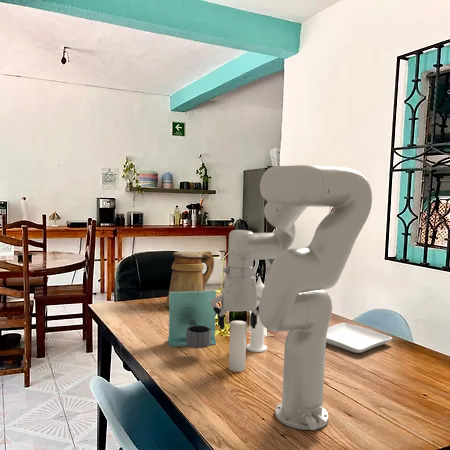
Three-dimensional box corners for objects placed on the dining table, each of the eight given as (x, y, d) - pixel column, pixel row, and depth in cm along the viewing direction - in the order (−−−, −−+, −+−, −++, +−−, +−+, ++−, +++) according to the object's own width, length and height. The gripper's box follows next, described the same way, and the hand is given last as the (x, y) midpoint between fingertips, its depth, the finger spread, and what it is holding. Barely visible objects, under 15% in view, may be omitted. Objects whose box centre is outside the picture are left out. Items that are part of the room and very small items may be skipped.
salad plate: (359, 359, 144) (360, 348, 143) (308, 340, 160) (309, 331, 160) (393, 346, 157) (394, 336, 157) (343, 330, 173) (344, 321, 173)
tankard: (158, 303, 203) (159, 250, 201) (202, 297, 217) (203, 247, 215) (177, 313, 189) (178, 255, 187) (222, 306, 202) (224, 252, 200)
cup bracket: (225, 359, 138) (226, 303, 137) (174, 362, 135) (175, 305, 133) (212, 338, 158) (213, 289, 156) (167, 340, 154) (168, 290, 152)
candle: (266, 353, 145) (269, 279, 143) (244, 351, 146) (247, 277, 144) (268, 346, 152) (271, 275, 150) (248, 344, 153) (250, 273, 151)
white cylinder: (247, 371, 130) (248, 325, 129) (230, 372, 129) (232, 326, 128) (242, 364, 135) (244, 320, 134) (226, 365, 134) (228, 320, 133)
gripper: (214, 274, 124) (211, 333, 126) (271, 274, 128) (268, 330, 130) (208, 269, 131) (206, 324, 133) (263, 269, 135) (260, 322, 137)
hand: (237, 327), depth 132 cm, fingers open, 9 cm apart
